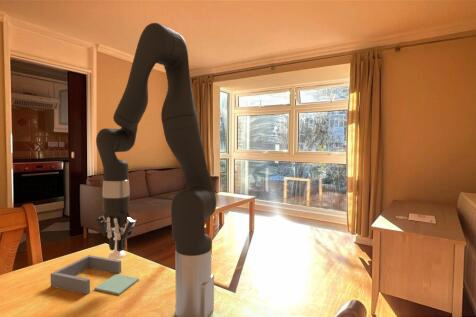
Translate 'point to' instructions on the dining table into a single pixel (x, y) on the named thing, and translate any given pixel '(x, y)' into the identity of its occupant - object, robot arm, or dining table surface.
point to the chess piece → (115, 253)
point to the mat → (117, 284)
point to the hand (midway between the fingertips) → (116, 249)
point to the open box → (67, 277)
